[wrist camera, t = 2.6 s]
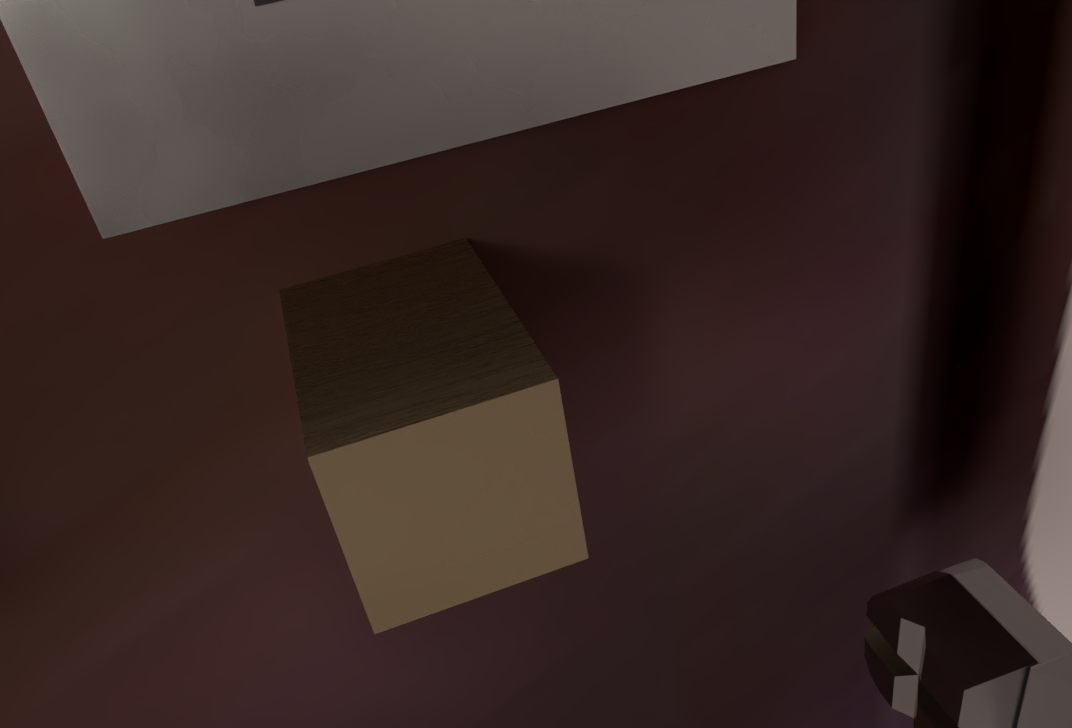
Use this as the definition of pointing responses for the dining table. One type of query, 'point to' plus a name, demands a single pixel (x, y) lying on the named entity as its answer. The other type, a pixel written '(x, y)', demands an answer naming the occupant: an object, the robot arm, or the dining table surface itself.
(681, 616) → the dining table surface
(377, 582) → the tan block
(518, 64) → the grey rectangular board
